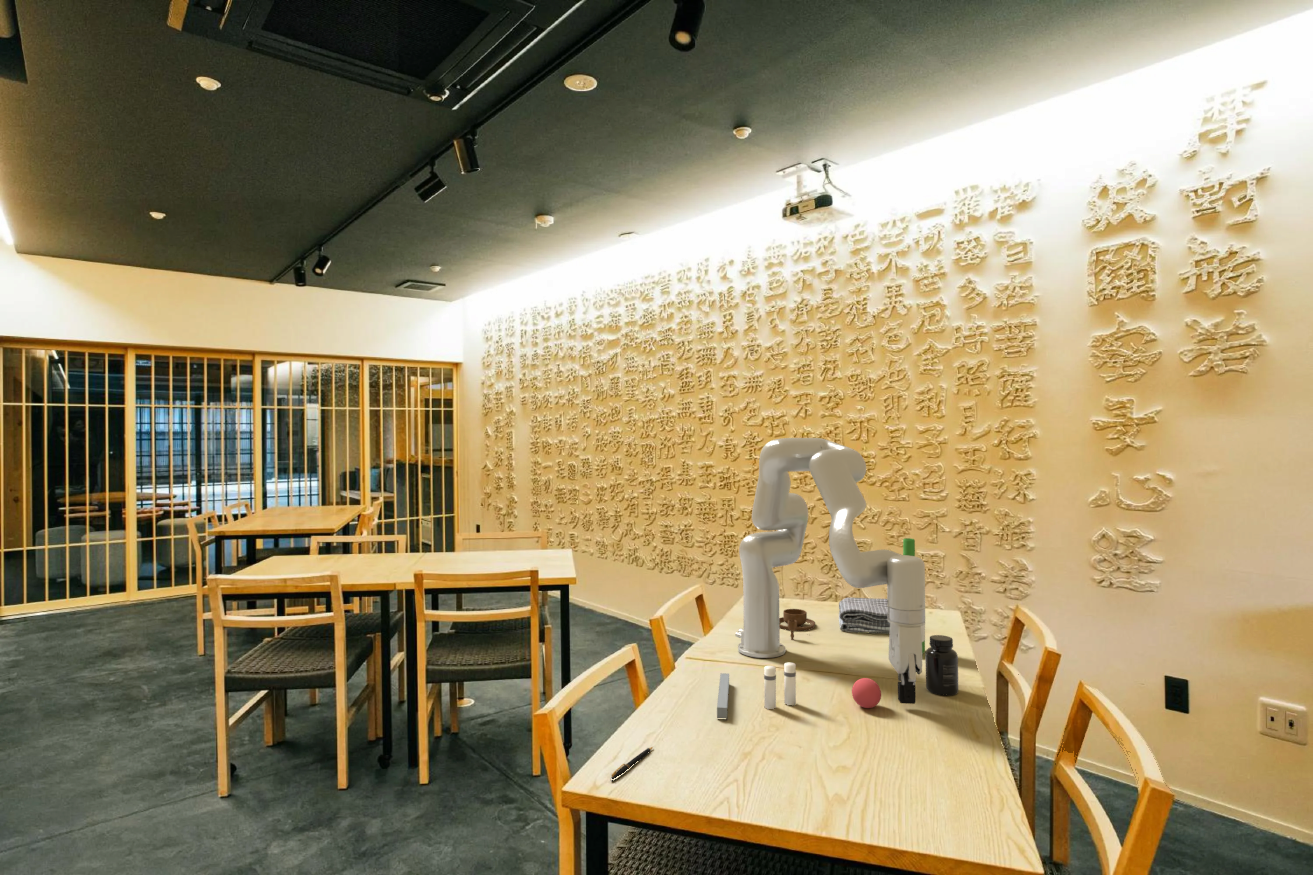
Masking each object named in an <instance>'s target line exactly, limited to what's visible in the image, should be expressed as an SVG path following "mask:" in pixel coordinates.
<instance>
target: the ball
mask: <svg viewBox="0 0 1313 875" xmlns="http://www.w3.org/2000/svg"><path fill="white" fill-rule="evenodd" d="M851 696H852V698H853V700H854V702H855V703H856V704H857V706H860V707H862V708H865V709H872V708H874V707H876V706H877V705H878V704H879V703H880V701H881V699H882V690H881V688H880V685H879V684H878V683H877V682H876V681H875V680H873V679H871V678H868V677H863V678H860V679H857V680H856V681H855V682H854V683H853V685H852V689H851Z"/></svg>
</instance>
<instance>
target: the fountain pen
mask: <svg viewBox="0 0 1313 875" xmlns="http://www.w3.org/2000/svg"><path fill="white" fill-rule="evenodd" d="M653 748H654V746H651V747H647V748H646V749H645V750H643V751H642V752H640V753H639V754H638V755H637V756H635V757H633V758H632V759H631V760H629V761H628V762H627V763H622V764H621V765H619V767H617V769H615V770H614V771H613V773H611V777H610V779H611V778H612V779H614V778H616V777H617V776H619V775H621V774H622V773H624V772H625V771H626V770H627V769H629V768H630V767H631V766H632V765H633V764H635V763H636V762H637V761H639V760H640V759H642V758H643V757H644V756H645V755H646V754H647V753H648V752H650V751H652V749H653ZM650 753H651V752H650ZM648 754H649V753H648ZM648 754H647V755H648ZM647 755H646V756H647ZM646 756H645V757H646ZM645 757H644V758H645ZM644 758H643V759H644ZM643 759H642V760H643ZM639 762H640V761H639Z"/></svg>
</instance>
